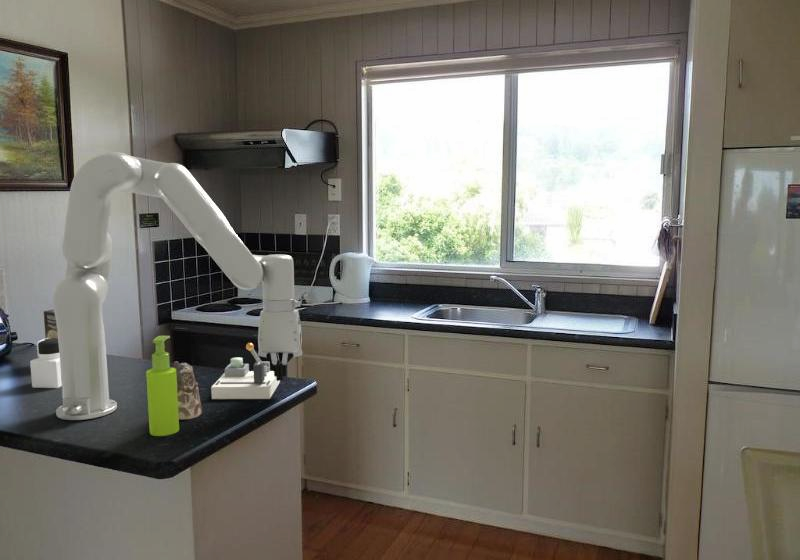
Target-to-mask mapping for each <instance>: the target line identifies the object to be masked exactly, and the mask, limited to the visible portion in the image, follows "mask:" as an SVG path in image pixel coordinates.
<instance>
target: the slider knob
mask: <svg viewBox="0 0 800 560" xmlns="http://www.w3.org/2000/svg"><path fill="white" fill-rule="evenodd" d="M264 362H265V361H262V362H257V361H255V363H254V364H253V371H254V383H263V381H264V380H265V378H264Z"/></svg>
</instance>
